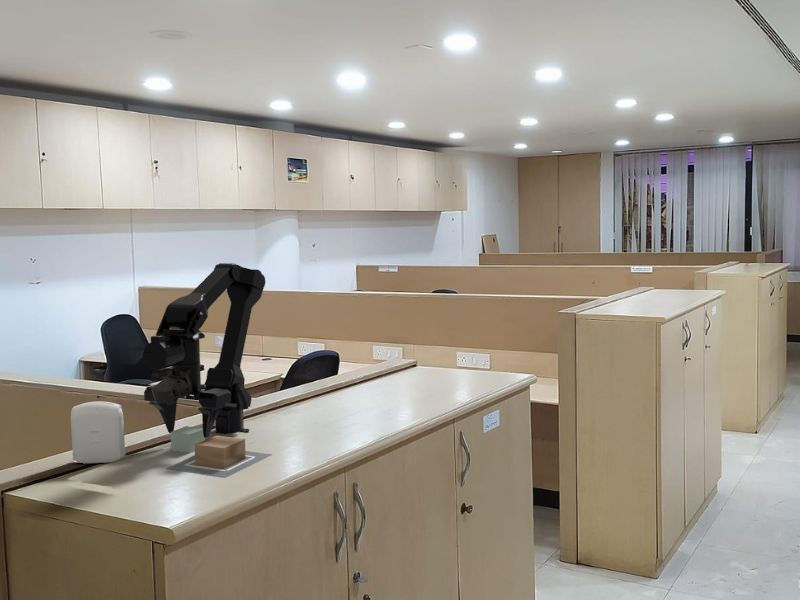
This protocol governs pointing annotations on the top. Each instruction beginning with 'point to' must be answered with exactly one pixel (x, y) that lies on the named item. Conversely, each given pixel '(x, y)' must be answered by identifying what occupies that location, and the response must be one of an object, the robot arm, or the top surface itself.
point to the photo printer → (97, 432)
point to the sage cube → (186, 438)
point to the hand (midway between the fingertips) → (188, 435)
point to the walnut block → (220, 451)
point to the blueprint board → (219, 472)
